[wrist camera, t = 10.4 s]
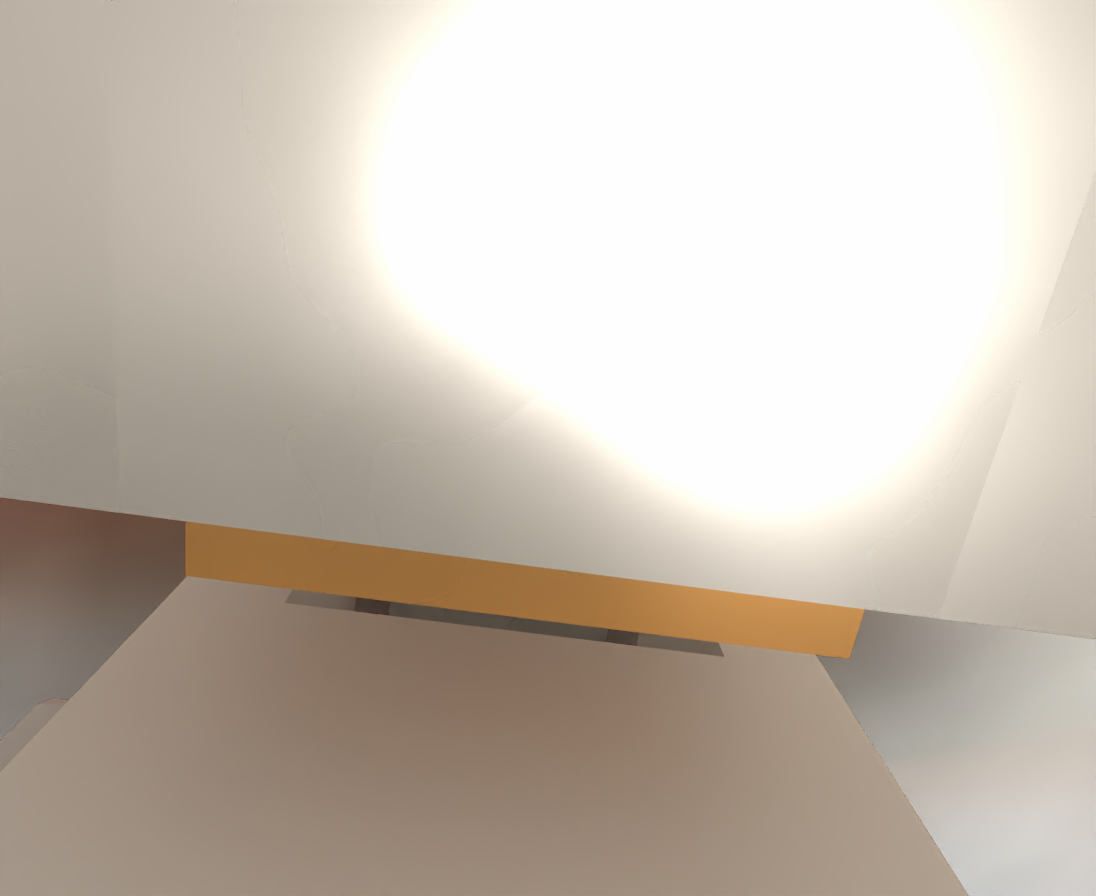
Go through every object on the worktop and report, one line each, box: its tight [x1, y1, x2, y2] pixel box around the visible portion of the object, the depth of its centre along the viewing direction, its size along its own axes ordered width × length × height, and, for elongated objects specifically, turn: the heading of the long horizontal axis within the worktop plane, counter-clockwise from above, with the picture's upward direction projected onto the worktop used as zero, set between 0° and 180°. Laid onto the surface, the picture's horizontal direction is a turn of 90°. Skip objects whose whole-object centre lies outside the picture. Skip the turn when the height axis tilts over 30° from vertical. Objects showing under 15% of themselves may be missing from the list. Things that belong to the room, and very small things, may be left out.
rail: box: [0, 0, 1096, 659], centre depth 9 cm, size 18×6×8 cm, turn 171°
